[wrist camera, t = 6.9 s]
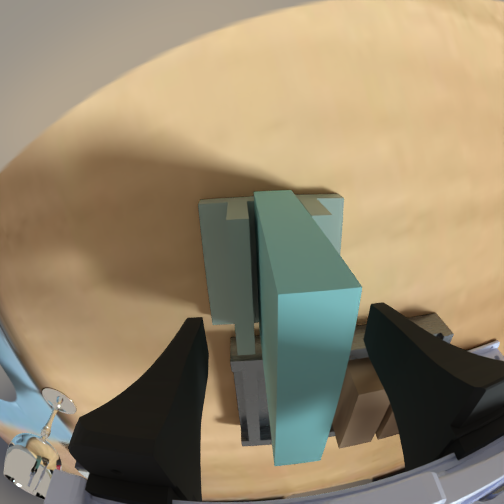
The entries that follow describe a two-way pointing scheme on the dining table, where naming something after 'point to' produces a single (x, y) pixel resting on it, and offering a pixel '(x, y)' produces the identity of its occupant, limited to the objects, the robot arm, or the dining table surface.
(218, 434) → the dining table surface
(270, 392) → the teal flat block
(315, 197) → the stand
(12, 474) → the wineglass
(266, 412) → the rack
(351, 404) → the offcut
